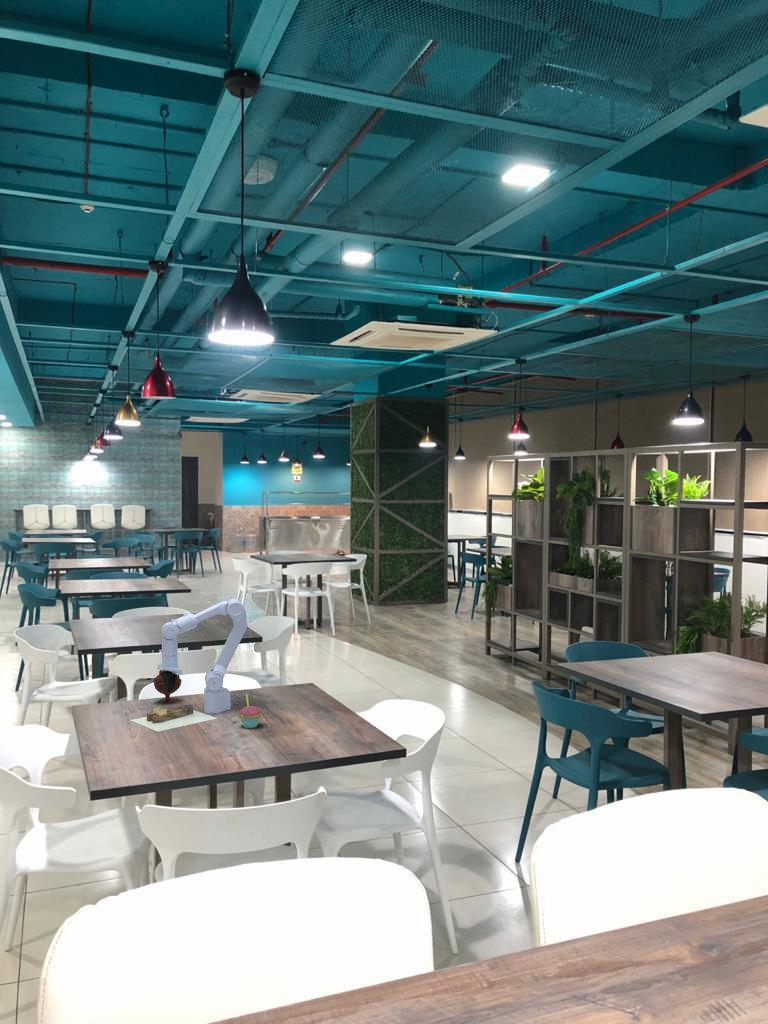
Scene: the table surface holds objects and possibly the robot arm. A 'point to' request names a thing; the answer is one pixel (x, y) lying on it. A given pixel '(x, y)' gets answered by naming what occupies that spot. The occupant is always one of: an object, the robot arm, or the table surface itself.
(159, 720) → the tong jaw
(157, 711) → the pale yellow rectangular block
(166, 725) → the serving board
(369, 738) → the table surface
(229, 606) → the robot arm
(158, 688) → the ice cream bowl
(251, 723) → the cupcake
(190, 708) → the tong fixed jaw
